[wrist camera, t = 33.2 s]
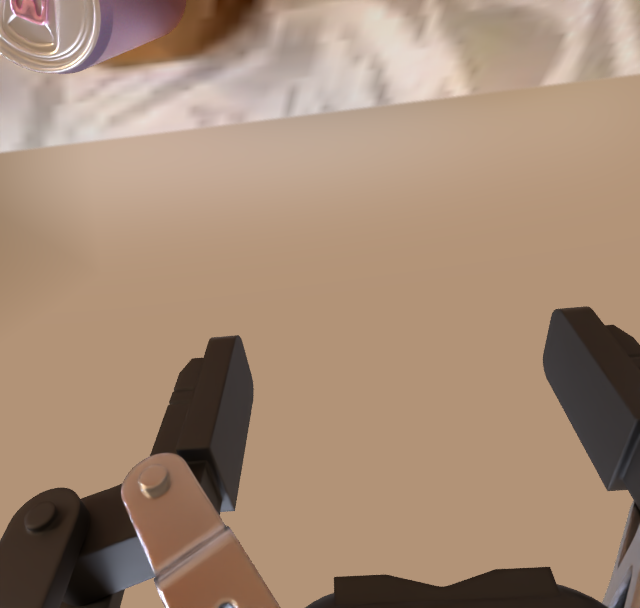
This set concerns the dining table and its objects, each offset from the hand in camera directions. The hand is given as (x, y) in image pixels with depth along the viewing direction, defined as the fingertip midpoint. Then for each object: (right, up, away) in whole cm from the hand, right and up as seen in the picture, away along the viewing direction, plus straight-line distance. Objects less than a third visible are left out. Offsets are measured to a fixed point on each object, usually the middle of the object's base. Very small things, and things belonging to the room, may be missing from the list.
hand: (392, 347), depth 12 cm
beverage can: (-14, +22, +19) cm, 32 cm away
